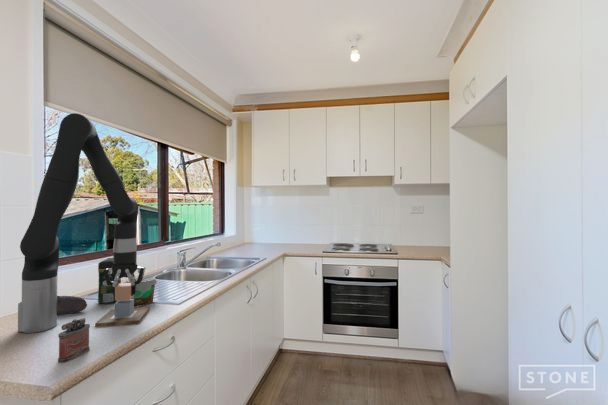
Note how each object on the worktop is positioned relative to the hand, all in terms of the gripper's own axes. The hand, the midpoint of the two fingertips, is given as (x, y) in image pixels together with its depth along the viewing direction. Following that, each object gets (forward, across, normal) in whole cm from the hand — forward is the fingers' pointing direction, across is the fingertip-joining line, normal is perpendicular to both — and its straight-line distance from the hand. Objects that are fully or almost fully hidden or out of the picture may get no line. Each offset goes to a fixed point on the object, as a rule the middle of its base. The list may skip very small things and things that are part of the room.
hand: (124, 295), depth 114 cm
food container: (+9, -1, -15) cm, 17 cm away
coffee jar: (+9, +13, -23) cm, 28 cm away
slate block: (+7, 0, 0) cm, 7 cm away
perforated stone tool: (+9, +24, -10) cm, 27 cm away
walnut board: (+8, 0, 0) cm, 8 cm away
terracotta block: (+1, 0, 0) cm, 1 cm away
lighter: (+9, +4, +28) cm, 30 cm away
